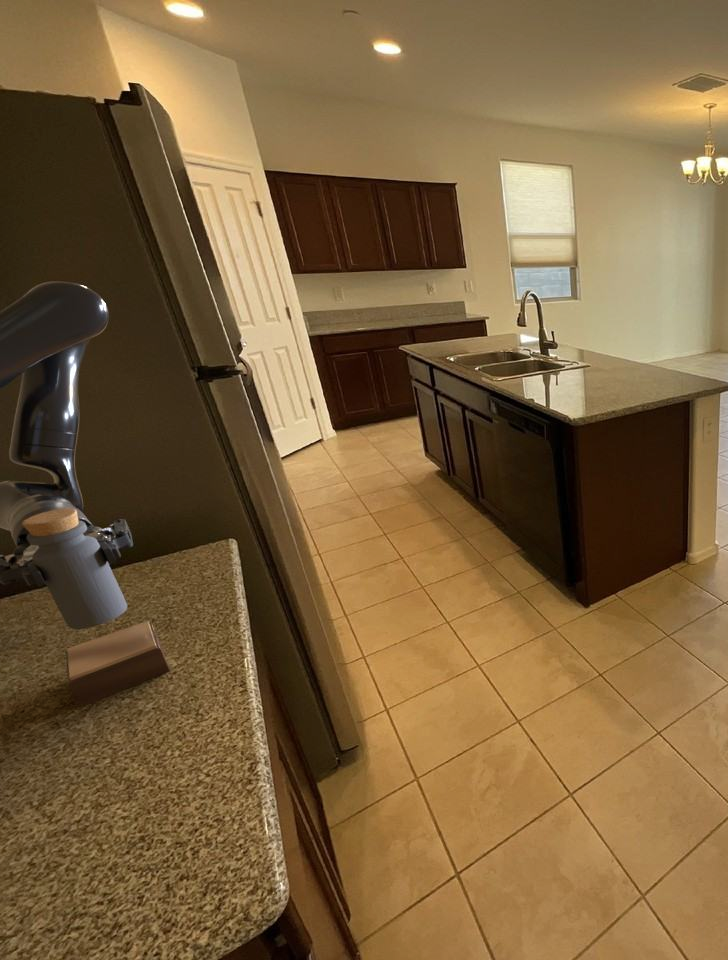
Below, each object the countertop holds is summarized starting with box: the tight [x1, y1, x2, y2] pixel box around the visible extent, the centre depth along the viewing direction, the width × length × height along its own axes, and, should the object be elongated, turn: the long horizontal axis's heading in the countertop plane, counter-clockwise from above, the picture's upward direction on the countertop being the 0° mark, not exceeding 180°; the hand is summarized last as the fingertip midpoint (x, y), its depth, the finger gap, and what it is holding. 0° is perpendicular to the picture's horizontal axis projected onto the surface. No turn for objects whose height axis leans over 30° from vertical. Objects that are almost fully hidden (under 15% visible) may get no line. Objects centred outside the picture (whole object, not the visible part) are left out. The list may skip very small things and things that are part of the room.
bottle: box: [22, 509, 128, 630], centre depth 67 cm, size 6×6×15 cm
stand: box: [65, 620, 171, 708], centre depth 72 cm, size 9×9×4 cm
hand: (76, 567), depth 65 cm, fingers closed on bottle, 6 cm apart
